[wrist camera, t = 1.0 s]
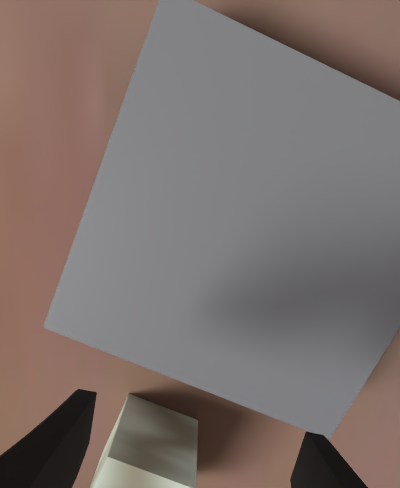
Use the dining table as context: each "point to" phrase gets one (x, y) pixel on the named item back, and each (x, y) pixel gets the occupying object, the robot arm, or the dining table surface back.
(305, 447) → the robot arm
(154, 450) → the sage cube
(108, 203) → the base block
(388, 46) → the dining table surface
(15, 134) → the dining table surface
